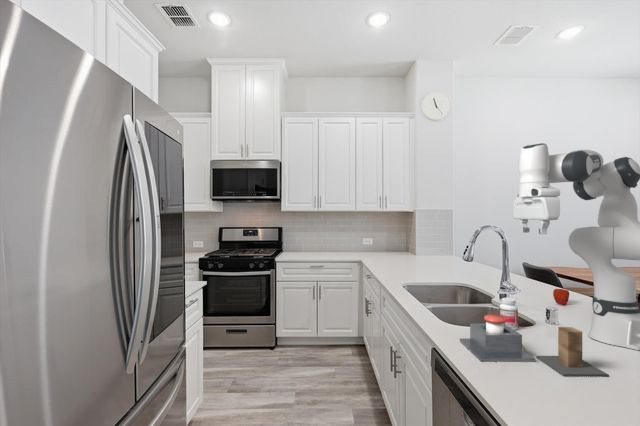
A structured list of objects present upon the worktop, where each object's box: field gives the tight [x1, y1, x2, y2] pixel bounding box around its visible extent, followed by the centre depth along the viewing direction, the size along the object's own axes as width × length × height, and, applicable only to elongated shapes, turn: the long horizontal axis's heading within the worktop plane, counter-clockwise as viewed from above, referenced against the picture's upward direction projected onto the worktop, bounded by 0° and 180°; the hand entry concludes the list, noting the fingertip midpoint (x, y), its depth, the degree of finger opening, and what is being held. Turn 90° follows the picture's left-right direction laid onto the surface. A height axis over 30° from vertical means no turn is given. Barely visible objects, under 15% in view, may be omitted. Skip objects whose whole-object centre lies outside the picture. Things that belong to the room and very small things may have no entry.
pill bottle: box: [498, 297, 519, 331], centre depth 132 cm, size 6×6×11 cm
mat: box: [535, 355, 610, 378], centre depth 99 cm, size 12×12×1 cm
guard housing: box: [459, 322, 536, 363], centre depth 110 cm, size 16×16×7 cm
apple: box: [552, 288, 570, 306], centre depth 165 cm, size 6×6×8 cm
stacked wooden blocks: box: [557, 326, 583, 368], centre depth 99 cm, size 4×4×10 cm
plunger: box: [483, 314, 505, 333], centre depth 110 cm, size 6×6×9 cm
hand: (533, 233), depth 116 cm, fingers open, 8 cm apart
